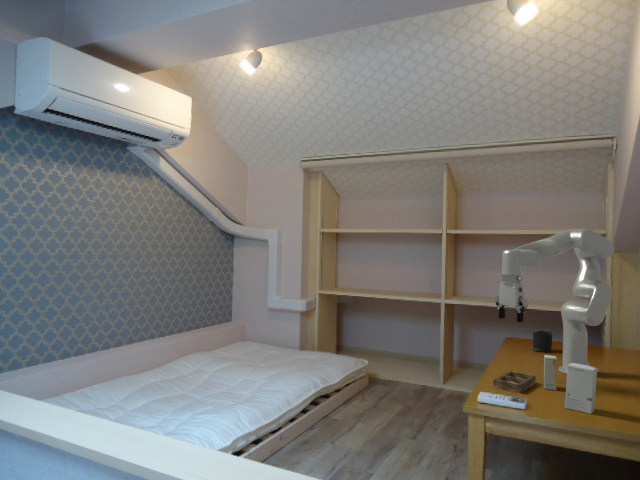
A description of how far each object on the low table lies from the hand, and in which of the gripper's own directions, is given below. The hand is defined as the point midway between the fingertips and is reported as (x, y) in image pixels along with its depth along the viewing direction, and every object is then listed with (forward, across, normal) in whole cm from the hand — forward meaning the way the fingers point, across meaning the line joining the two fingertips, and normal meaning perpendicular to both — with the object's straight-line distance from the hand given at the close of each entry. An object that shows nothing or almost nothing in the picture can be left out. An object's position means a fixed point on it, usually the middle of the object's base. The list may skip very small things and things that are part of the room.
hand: (510, 320), depth 196 cm
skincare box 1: (+24, -16, -5) cm, 29 cm away
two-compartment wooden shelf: (+24, -8, +6) cm, 26 cm away
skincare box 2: (+24, -37, +6) cm, 45 cm away
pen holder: (+24, +34, -59) cm, 72 cm away
